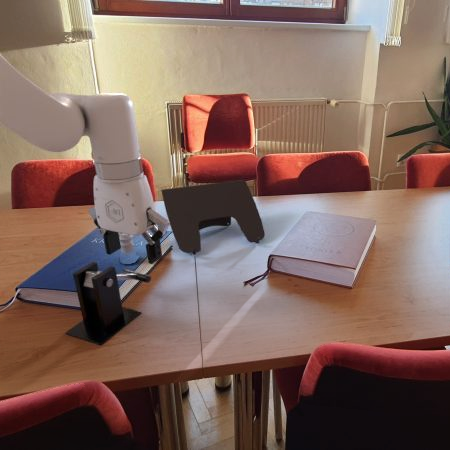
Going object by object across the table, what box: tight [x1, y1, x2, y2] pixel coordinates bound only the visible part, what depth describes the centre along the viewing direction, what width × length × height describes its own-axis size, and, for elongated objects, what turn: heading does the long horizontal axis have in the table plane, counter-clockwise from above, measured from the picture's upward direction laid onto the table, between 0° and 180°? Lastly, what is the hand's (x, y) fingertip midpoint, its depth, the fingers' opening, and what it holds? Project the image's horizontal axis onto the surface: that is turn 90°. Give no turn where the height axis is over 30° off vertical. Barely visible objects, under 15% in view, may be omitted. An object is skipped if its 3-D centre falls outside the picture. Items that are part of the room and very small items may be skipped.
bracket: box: [64, 261, 143, 347], centre depth 77 cm, size 10×8×12 cm
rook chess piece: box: [118, 232, 135, 254], centre depth 99 cm, size 4×4×8 cm
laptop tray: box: [160, 179, 266, 258], centre depth 115 cm, size 23×23×9 cm
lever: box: [84, 269, 152, 288], centre depth 80 cm, size 12×6×2 cm, turn 158°
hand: (134, 255), depth 83 cm, fingers open, 9 cm apart
